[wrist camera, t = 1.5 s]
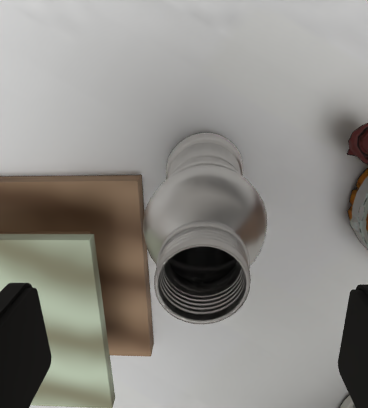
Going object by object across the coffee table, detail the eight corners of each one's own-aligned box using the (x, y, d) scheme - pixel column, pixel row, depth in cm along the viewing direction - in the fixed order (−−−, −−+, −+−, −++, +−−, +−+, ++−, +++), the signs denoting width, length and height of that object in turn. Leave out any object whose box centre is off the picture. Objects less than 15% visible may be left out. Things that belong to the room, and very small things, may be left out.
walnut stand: (153, 343, 39) (136, 425, 30) (-13, 339, 40) (-79, 416, 31) (141, 175, 32) (114, 213, 23) (-58, 177, 34) (-160, 214, 24)
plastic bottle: (154, 158, 32) (78, 271, 13) (213, 112, 30) (224, 165, 11) (196, 210, 33) (183, 378, 14) (254, 169, 31) (325, 300, 13)
